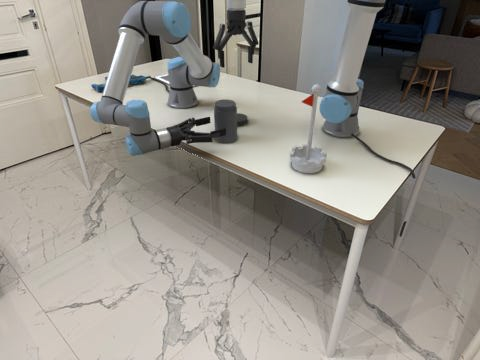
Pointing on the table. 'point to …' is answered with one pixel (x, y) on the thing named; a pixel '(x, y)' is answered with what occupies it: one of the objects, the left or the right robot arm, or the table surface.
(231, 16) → the right robot arm
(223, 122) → the jar
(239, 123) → the lid
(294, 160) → the flag stand
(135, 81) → the submachine gun
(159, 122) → the table surface
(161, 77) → the tablet
